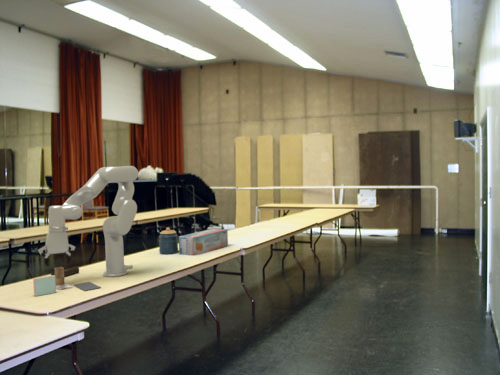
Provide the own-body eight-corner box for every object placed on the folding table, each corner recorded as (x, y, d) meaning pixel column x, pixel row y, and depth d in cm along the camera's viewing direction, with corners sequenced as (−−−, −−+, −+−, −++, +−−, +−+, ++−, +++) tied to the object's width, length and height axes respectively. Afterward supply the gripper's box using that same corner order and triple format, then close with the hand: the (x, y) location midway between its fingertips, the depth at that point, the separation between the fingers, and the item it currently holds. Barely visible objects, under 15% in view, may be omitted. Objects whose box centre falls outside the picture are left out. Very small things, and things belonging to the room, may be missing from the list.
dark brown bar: (74, 273, 249) (74, 265, 249) (79, 273, 248) (79, 265, 248) (46, 281, 232) (46, 272, 232) (52, 281, 230) (52, 272, 230)
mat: (89, 282, 224) (89, 281, 224) (101, 288, 212) (101, 287, 212) (73, 285, 219) (73, 284, 219) (84, 291, 207) (84, 290, 207)
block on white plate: (65, 283, 223) (64, 266, 223) (72, 287, 214) (71, 269, 214) (52, 286, 219) (51, 268, 219) (59, 290, 210) (58, 271, 210)
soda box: (213, 245, 333) (213, 228, 332) (228, 246, 326) (228, 229, 325) (178, 254, 298) (177, 235, 297) (194, 256, 291) (193, 236, 290)
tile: (54, 291, 208) (53, 275, 208) (56, 292, 206) (55, 275, 206) (34, 295, 202) (33, 278, 202) (35, 296, 200) (34, 279, 200)
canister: (181, 251, 309) (180, 226, 309) (173, 254, 297) (172, 228, 296) (164, 251, 313) (163, 226, 312) (156, 254, 300) (155, 228, 300)
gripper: (72, 228, 227) (72, 261, 227) (36, 231, 216) (36, 265, 216) (77, 229, 221) (77, 263, 222) (40, 232, 211) (40, 268, 211)
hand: (57, 264), depth 219 cm, fingers open, 9 cm apart
